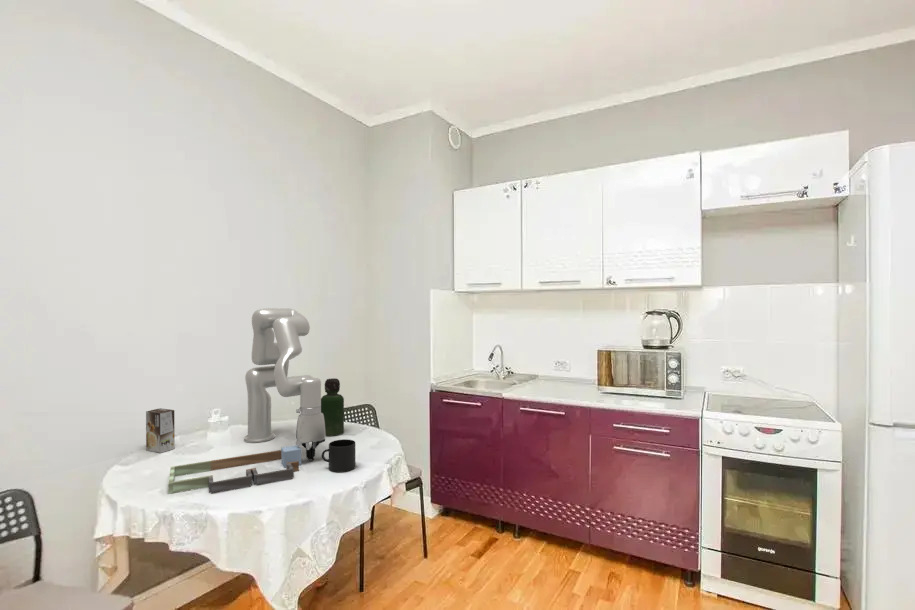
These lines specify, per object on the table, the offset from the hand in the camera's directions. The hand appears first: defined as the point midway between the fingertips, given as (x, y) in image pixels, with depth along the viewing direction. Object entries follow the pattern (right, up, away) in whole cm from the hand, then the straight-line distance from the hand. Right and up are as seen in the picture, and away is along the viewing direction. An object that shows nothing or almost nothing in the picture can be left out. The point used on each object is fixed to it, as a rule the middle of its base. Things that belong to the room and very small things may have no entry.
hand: (310, 459), depth 172 cm
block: (-6, -1, -4) cm, 7 cm away
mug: (+13, -1, -8) cm, 15 cm away
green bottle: (-2, -1, +37) cm, 37 cm away
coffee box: (-66, -1, +14) cm, 67 cm away
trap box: (-20, -1, -16) cm, 26 cm away
